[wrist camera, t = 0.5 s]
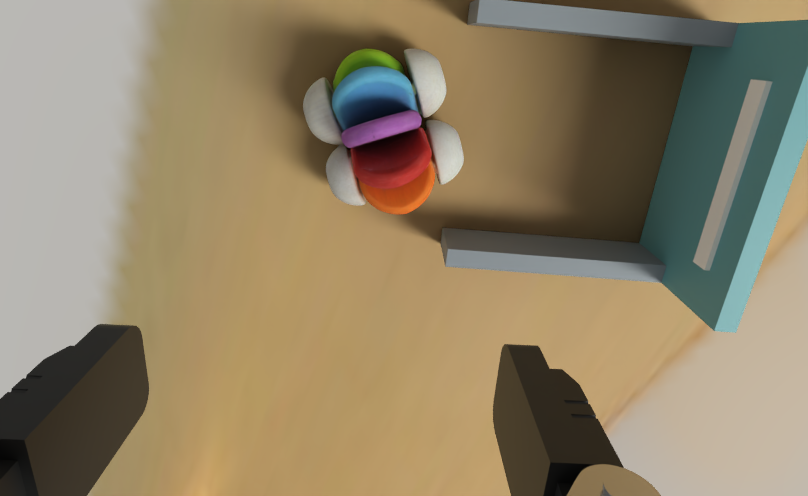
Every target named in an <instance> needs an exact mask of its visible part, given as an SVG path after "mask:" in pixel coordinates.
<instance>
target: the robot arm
mask: <svg viewBox="0 0 808 496" xmlns="http://www.w3.org/2000/svg"><path fill="white" fill-rule="evenodd" d="M148 394H149V383H148V376H147V369H146V362H145V354H144V347H143V340H142V334H141V331H140V329H139V328H138V327H137V326H130V325H109V324H99V325H97V326H95V327H94V328H93V329H92V330H91V331H90V332H89V333H88V334H87V335H86V336H85V337H84V338H83V339H82V340H80V341H79V342H78V343H77V344H76V345H75V346H69V347H66V348H65V349H63V350H61V351H59V352H57V353H55V354H53V355H52V356H49V357H47V358H46V359H44V360H43V361H42V362H41V363H40V364H38V365H37V366H36V367H35V368H34V369H33V370H32V371H31V372H30V373H29V374H27V377H26V379H22V380H21V381H20V382H18V384H16V385H15V386H14V387H13V388H12V391H11V392H7V393H6V394H5V395H4V396H3V397H2V398H1V399H0V496H87V495H88V493H89V492H90V490H91V489H92V487H93V486H94V485H95V483H96V482H97V480H98V479H99V477H100V476H101V474H102V473H103V471H104V470H105V468H106V467H107V465H108V464H109V463H110V461H111V460H112V458H113V457H114V455H115V454H116V452H117V451H118V449H119V448H120V446H121V445H122V443H123V442H124V441H125V439H126V438H127V436H128V435H129V433H130V432H131V430H132V429H133V427H134V426H135V424H136V423H137V421H138V420H139V419H140V417H141V416H142V414H143V412H144V410H145V407H146V404H147V400H148ZM595 416H596V415H595V413H594V411H593V409H592V407H591V406H590V404H588V400H587V398H586V396H585V394H584V392H583V391H582V389H581V387H580V385H579V384H578V383H577V382H576V381H575V380H574V379H572V378H571V377H570V376H569V375H568V374H567V373H566V372H564V371H563V370H562V369H549V367H548V364H547V362H546V360H545V358H544V356H543V354H542V352H541V350H540V348H539V347H538V346H530V345H509V344H505V345H504V346H503V348H502V352H501V357H500V364H499V370H498V377H497V383H496V390H495V396H494V404H493V422H494V429H495V434H496V438H497V442H498V446H499V450H500V454H501V457H502V461H503V465H504V469H505V473H506V477H507V481H508V485H509V489H510V493H511V496H661V495H660V494H659V492H658V491H657V490H656V489H655V488H654V487H653V486H652V485H651V484H650V483H649V482H647V481H646V480H645V479H644V478H642V477H641V476H639V475H637V474H635V473H634V472H632V471H629V470H627V469H625V468H624V467H623V465H622V464H621V462H620V460H619V458H618V456H617V454H616V452H615V451H614V449H613V447H612V445H611V443H610V441H609V439H608V437H607V435H606V434H605V432H604V430H603V428H602V426H601V424H600V422H599V421H598V419H596V417H595Z"/></svg>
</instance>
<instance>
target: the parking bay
mask: <svg viewBox="0 0 808 496" xmlns="http://www.w3.org/2000/svg"><path fill="white" fill-rule="evenodd" d="M467 25H476V26H486V27H497V28H507V29H517V30H528V31H538V32H549V33H559V34H569V35H580V36H590V37H601V38H611V39H621V40H632V41H642V42H653V43H663V44H673V45H684V46H693V48H692V51H691V55H690V59H689V62H688V66H687V70H686V73H685V77H684V81H683V84H682V88H681V92H680V95H679V99H678V103H677V106H676V110H675V114H674V117H673V121H672V125H671V128H670V132H669V136H668V139H667V143H666V147H665V150H664V154H663V158H662V161H661V165H660V169H659V172H658V176H657V180H656V183H655V187H654V191H653V194H652V198H651V202H650V205H649V209H648V213H647V216H646V220H645V224H644V228H643V231H642V235H641V239H640V242H639V243H634V242H621V241H608V240H596V239H583V238H570V237H557V236H545V235H532V234H519V233H506V232H493V231H481V230H468V229H455V228H442V236H441V248H442V252H443V257H444V262H445V266H446V267H458V268H472V269H485V270H499V271H512V272H525V273H539V274H552V275H565V276H579V277H592V278H605V279H619V280H632V281H645V282H659V283H662V284H663V285H665V286H666V287H667V288H668V289H669V290H670V291H671V292H672V293H673V294H674V295H675V296H677V297H678V298H679V299H680V300H681V301H682V302H683V303H684V304H685V305H686V306H687V307H689V308H690V309H691V310H692V311H693V312H694V313H695V314H696V315H697V316H698V317H699V318H701V319H702V320H703V321H704V322H705V323H706V324H707V325H708V326H709V327H710V328H712V329H713V330H714V331H721V332H736V331H737V328H738V325H739V323H740V320H741V317H742V315H743V312H744V309H745V307H746V304H747V301H748V298H749V296H750V293H751V290H752V288H753V285H754V282H755V280H756V277H757V274H758V271H759V269H760V266H761V263H762V261H763V258H764V255H765V253H766V250H767V247H768V244H769V242H770V239H771V236H772V234H773V231H774V228H775V226H776V223H777V220H778V218H779V215H780V212H781V209H782V207H783V204H784V201H785V199H786V196H787V193H788V191H789V188H790V185H791V182H792V180H793V177H794V174H795V172H796V169H797V166H798V164H799V161H800V158H801V155H802V153H803V150H804V147H805V145H806V142H807V139H808V20H797V21H776V22H755V23H731V22H721V21H711V20H700V19H690V18H680V17H670V16H660V15H650V14H640V13H629V12H619V11H609V10H599V9H589V8H579V7H569V6H558V5H548V4H538V3H528V2H518V1H508V0H474V1H472V2H470V6H469V14H468V22H467Z"/></svg>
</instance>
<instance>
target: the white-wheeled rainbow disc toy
mask: <svg viewBox="0 0 808 496" xmlns="http://www.w3.org/2000/svg"><path fill="white" fill-rule="evenodd" d="M404 56H405V60H406V64H407V69H408V73H409V76H410V79H411V83H412V84H411V83H410V81H409V79H408V78H407V77H406V76H405V73H404V69H403V66H402V64H401V63H400V62H399V61H397V60H396V59H395V58H393V57H392V56H391V55H389V54H387V53H385V52H383V51H380V50H376V49H361V50H358V51H355V52H353V53H351V54H350V55H348V56H347V57H346V58H345V59H344V60H343V61H342V63H341V64H340V66H339V68H338V70H337V72H336V75H335V79H334V81H333V89H332V87H331V85H330V83H329V81H328V80H327V79H326V78H325V77H323V78H320V79H319V80H317V81H316V82H314V83H313V84H312V85H311V87H310V88H309V89H308V91H307V93H306V95H305V98H304V101H303V110H304V114H305V118H306V121H307V124H308V126H309V128H310V130H311V132H312V133H313V134H314V135H315V136H316V137H317V138H319V139H320V140H322V141H324V142H326V143H330V144H337V145H339V146H338V147H337V148H336V149H335V150H334V151H333V152H332V153H331V155H330V157H329V158H328V161H327V164H326V174H327V178H328V182H329V185H330V188H331V190H332V192H333V194H334V195H335V196H336V197H337V198H338V199H339V200H341V201H343V202H344V203H347V204H350V205H364V204H365V203H366V200H367V201H368V202H369V203H370V204H371V205H372V206H374V207H375V208H377V209H378V210H381V211H383V212H386V213H390V214H407V213H409V212H411V211H413V210H415V209H416V208H418V207H419V206H420V205H421V204H422V203H423V202H424V201H425V200H426V199H427V197H428V196H429V194H430V193H431V190H432V188H433V185H434V180H435V173H436V174H437V178H438V181H439V183H440V184H445V183H447V182H449V181H450V180H452V179H453V178H454V177H455V176H456V175H457V174H458V172H459V171H460V169H461V167H462V165H463V161H464V157H463V150H462V146H461V142H460V139H459V135H458V133H457V131H456V130H455V129H454V128H453V127H452V126H450V125H449V124H447V123H445V122H442V121H438V120H427V121H426V122H425V128H426V131H424V129H423V128H421V127H420V125H421V121H422V119H421V116H420V114H421V115H422V116H423V117H424V118H426V117H429V116H430V115H432V114H433V113H435V112H436V111H437V110H438V108H439V107H440V106H441V104H442V103H443V101H444V98H445V96H446V84H445V79H444V75H443V72H442V68H441V65H440V63H439V61H438V59H437V58H436V57H434V56H433V55H432V54H430V53H429V52H427V51H425V50H421V49H406V50H404Z"/></svg>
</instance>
